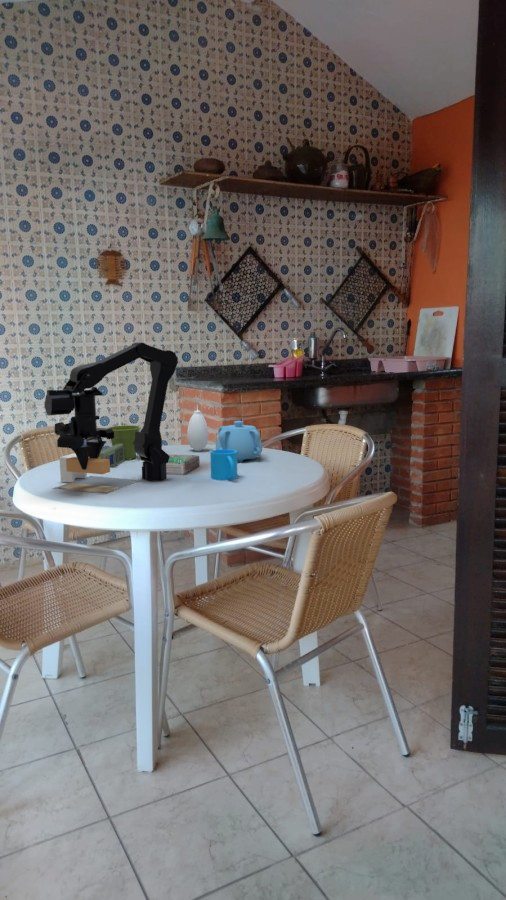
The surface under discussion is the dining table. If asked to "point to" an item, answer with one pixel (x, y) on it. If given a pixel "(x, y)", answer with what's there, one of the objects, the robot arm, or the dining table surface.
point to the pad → (89, 488)
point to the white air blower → (197, 431)
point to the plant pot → (125, 439)
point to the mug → (223, 464)
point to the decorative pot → (240, 440)
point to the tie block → (67, 475)
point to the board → (102, 482)
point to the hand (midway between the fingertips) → (88, 468)
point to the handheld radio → (113, 454)
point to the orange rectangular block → (89, 465)
